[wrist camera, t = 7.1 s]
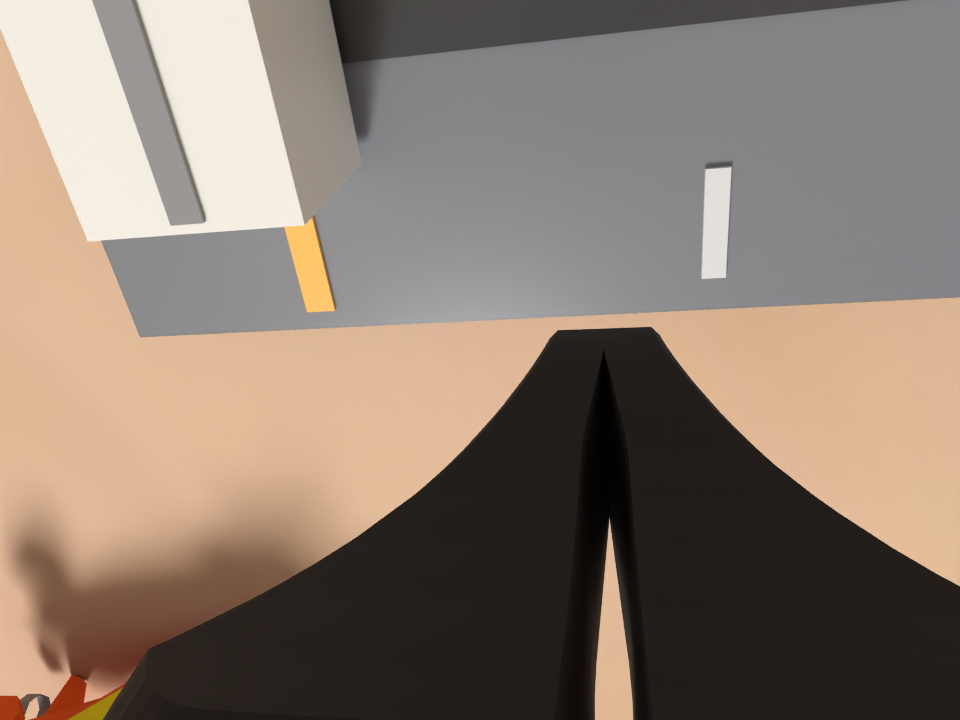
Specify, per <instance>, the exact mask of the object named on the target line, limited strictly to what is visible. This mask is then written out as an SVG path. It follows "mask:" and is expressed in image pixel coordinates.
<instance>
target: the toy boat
mask: <svg viewBox="0 0 960 720" xmlns="http://www.w3.org/2000/svg"><path fill="white" fill-rule="evenodd" d="M125 684H126V683H125ZM125 684H124V685H125ZM124 685H122V686H120V687H119V688H117V689H115V690H113V691H112V692H110V693H108V694H107V695H105V696H103V697H102V698H99V699H96V700H93V701H89V702H86V703H84V697H85V691H86V683H85V681H84V680H83V678H80V677H78V676H71V677H70V678H69V680H68V681H67V683H66V684H65V685H64V687H63V688H62V690H61V691H60V693H59V694H58V695H57V697H56V698H55V700H54V701H53V703H52V704H51V705H50V700H49V697H47V696H44V695H41V694H27V695H26V696H25V697H23V698H22V699H21V700H19V698H18V697H17V696H0V720H24V719H25V713H26V710H27V708H28V705H29V702H30V701H32V700H33V699H34V698H36V697H37V699H38V704H39V709H40V710H39V712H38V715H37V718H34V719H31V720H103V718H104V717H105V715H106V713H107V712H108V710H109V708H110V707H111V705H112V704H113V702H114V700H115V699H116V697H117V696H118V694H119V693H120V691H121V690H122V688H123V687H124Z"/></svg>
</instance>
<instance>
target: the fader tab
mask: <svg viewBox="0 0 960 720" xmlns="http://www.w3.org/2000/svg"><path fill="white" fill-rule="evenodd" d="M0 29H1V31H2V34H3V36H4V39H5V41H6V43H7V46H8V48H9V51H10V53H11V56H12V58H13V60H14V63H15V65H16V68H17V70H18V73H19V75H20V77H21V80H22V82H23V85H24V87H25V90H26V92H27V94H28V97H29V99H30V102H31V104H32V107H33V109H34V111H35V114H36V116H37V119H38V121H39V124H40V126H41V128H42V131H43V133H44V136H45V138H46V140H47V143H48V145H49V148H50V150H51V153H52V155H53V157H54V160H55V162H56V165H57V167H58V170H59V172H60V174H61V177H62V179H63V182H64V184H65V187H66V189H67V191H68V194H69V196H70V199H71V201H72V204H73V206H74V208H75V211H76V213H77V216H78V218H79V221H80V223H81V225H82V228H83V230H84V233H85V235H86V238H87V240H88V241H101V240H115V239H128V238H142V237H155V236H169V235H182V234H196V233H209V232H223V231H236V230H250V229H263V228H277V227H290V226H304V225H306V224H307V222H308V221H309V220H310V219H311V218H312V217H313V216H314V215H315V214H316V213H317V212H318V210H319V209H320V208H321V207H322V206H323V205H324V204H325V203H326V202H327V201H328V200H329V198H330V197H331V196H332V195H333V194H334V193H335V192H336V191H337V190H338V189H339V188H340V186H341V185H342V184H343V183H344V182H345V181H346V180H347V179H348V178H349V177H350V176H351V174H352V173H353V172H354V171H355V170H356V169H357V168H358V167H359V166H360V165H361V164H362V162H361V157H360V152H359V147H358V142H357V137H356V132H355V127H354V122H353V117H352V112H351V107H350V102H349V97H348V92H347V87H346V82H345V77H344V72H343V67H342V62H341V58H340V53H339V48H338V43H337V38H336V33H335V28H334V23H333V18H332V13H331V8H330V3H329V0H0Z"/></svg>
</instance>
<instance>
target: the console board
mask: <svg viewBox="0 0 960 720" xmlns="http://www.w3.org/2000/svg"><path fill="white" fill-rule="evenodd" d="M329 3H330V8H331V13H332V18H333V23H334V28H335V33H336V38H337V43H338V48H339V53H340V58H341V62H342V67H343V72H344V77H345V82H346V87H347V92H348V97H349V102H350V107H351V112H352V117H353V122H354V127H355V132H356V137H357V142H358V147H359V152H360V157H361V162H362V164H361V165H360V166H359V167H358V168H357V169H356V170H355V171H354V172H353V173H352V174H351V176H350V177H349V178H348V179H347V180H346V181H345V182H344V183H343V184H342V185H341V186H340V188H339V189H338V190H337V191H336V192H335V193H334V194H333V195H332V196H331V197H330V198H329V200H328V201H327V202H326V203H325V204H324V205H323V206H322V207H321V208H320V209H319V210H318V212H317V213H316V214H315V215H314V216H313V217H312V218H311V219H310V220H309V221H308V222H307V224H306V225H304V226H290V227H277V228H263V229H250V230H236V231H223V232H209V233H196V234H182V235H169V236H155V237H142V238H128V239H115V240H101V241H102V244H103V246H104V249H105V251H106V253H107V256H108V258H109V261H110V263H111V266H112V268H113V271H114V273H115V276H116V278H117V281H118V283H119V286H120V288H121V291H122V293H123V296H124V298H125V301H126V303H127V306H128V308H129V311H130V313H131V316H132V318H133V321H134V323H135V326H136V328H137V331H138V333H139V336H140V337H154V336H175V335H195V334H216V333H237V332H257V331H278V330H298V329H319V328H339V327H360V326H380V325H401V324H421V323H442V322H462V321H483V320H503V319H524V318H544V317H565V316H585V315H606V314H626V313H647V312H667V311H688V310H708V309H729V308H749V307H770V306H790V305H811V304H832V303H852V302H873V301H893V300H914V299H934V298H955V297H960V0H329Z"/></svg>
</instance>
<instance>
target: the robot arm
mask: <svg viewBox="0 0 960 720" xmlns="http://www.w3.org/2000/svg"><path fill="white" fill-rule="evenodd" d="M609 517H610V524H611V532H612V540H613V547H614V555H615V562H616V570H617V577H618V584H619V592H620V599H621V607H622V614H623V621H624V629H625V636H626V644H627V651H628V658H629V667H630V677H631V688H632V699H633V720H960V586H958V585H956V584H954V583H952V582H951V581H949V580H947V579H945V578H943V577H941V576H939V575H938V574H936V573H934V572H932V571H931V570H929V569H927V568H926V567H924V566H922V565H920V564H919V563H917V562H915V561H914V560H912V559H910V558H908V557H907V556H905V555H903V554H902V553H900V552H898V551H897V550H895V549H893V548H892V547H890V546H888V545H887V544H885V543H884V542H882V541H881V540H879V539H878V538H876V537H875V536H873V535H872V534H870V533H868V532H867V531H865V530H864V529H862V528H861V527H859V526H858V525H856V524H855V523H853V522H851V521H850V520H848V519H847V518H845V517H844V516H842V515H841V514H839V513H838V512H836V511H835V510H834V509H832V508H831V507H829V506H828V505H826V504H825V503H824V502H822V501H821V500H819V499H818V498H817V497H815V496H814V495H812V494H811V493H810V492H809V491H807V490H806V489H805V488H803V487H802V486H801V485H800V484H798V483H797V482H796V481H795V480H793V479H792V478H791V477H789V476H788V475H787V474H786V473H784V472H783V471H782V470H781V469H779V468H778V467H777V466H775V465H774V464H773V463H772V462H771V461H770V460H769V459H768V458H766V457H765V456H764V455H763V454H762V453H761V452H760V451H759V450H758V449H756V448H755V447H754V446H753V445H752V444H751V443H750V442H749V441H748V440H747V439H746V438H745V437H744V436H743V435H742V434H741V433H740V432H739V431H738V430H737V429H736V428H735V427H734V426H733V425H732V424H731V423H730V422H729V421H728V420H727V419H726V418H725V417H724V416H723V415H722V414H721V413H720V412H719V411H718V409H717V408H716V407H715V406H714V405H713V404H712V403H711V402H710V400H709V399H708V398H707V397H706V396H705V395H704V394H703V392H702V391H701V390H700V389H699V388H698V387H697V386H696V384H695V383H694V382H693V381H692V380H691V378H690V377H689V376H688V375H687V373H686V372H685V371H684V370H683V368H682V367H681V366H680V364H679V363H678V362H677V360H676V359H675V358H674V356H673V355H672V353H671V352H670V351H669V349H668V348H667V346H666V345H665V343H664V342H663V340H662V338H661V337H660V335H659V334H658V333H657V332H656V331H655V330H654V329H653V328H652V327H638V328H610V329H582V330H558V331H557V332H556V333H555V334H554V335H553V336H552V337H551V338H550V339H549V341H548V343H547V344H546V346H545V348H544V349H543V351H542V352H541V354H540V356H539V357H538V359H537V360H536V362H535V363H534V365H533V366H532V367H531V369H530V370H529V372H528V373H527V375H526V376H525V377H524V379H523V380H522V382H521V383H520V384H519V385H518V387H517V388H516V389H515V391H514V392H513V393H512V394H511V396H510V397H509V398H508V400H507V401H506V402H505V404H504V405H503V406H502V407H501V409H500V410H499V411H498V412H497V413H496V415H495V416H494V417H493V418H492V419H491V420H490V421H489V422H488V423H487V425H486V426H485V427H484V428H483V429H482V430H481V431H480V432H479V433H478V435H477V436H476V437H475V438H474V439H473V440H472V441H471V442H470V443H469V445H468V446H467V447H466V448H465V449H464V450H463V451H462V452H461V453H460V454H459V455H458V456H457V457H456V458H455V459H454V460H453V461H452V462H451V463H450V464H449V465H448V466H447V467H445V468H444V469H443V470H442V471H441V472H440V473H439V474H438V475H437V476H436V477H435V478H433V479H432V480H431V481H430V482H429V483H428V484H427V485H426V486H424V487H423V488H422V489H421V490H420V491H418V492H417V493H416V494H415V495H414V496H412V497H411V498H410V499H408V500H407V501H405V502H404V503H403V504H401V505H400V506H399V507H397V508H396V509H395V510H393V511H392V512H390V513H389V514H388V515H386V516H385V517H384V518H382V519H381V520H380V521H378V522H377V523H375V524H374V525H373V526H371V527H370V528H369V529H367V530H366V531H365V532H363V533H362V534H360V535H359V536H358V537H356V538H355V539H353V540H352V541H350V542H349V543H347V544H345V545H344V546H342V547H341V548H339V549H338V550H336V551H334V552H333V553H331V554H330V555H328V556H326V557H325V558H323V559H322V560H320V561H319V562H317V563H315V564H314V565H312V566H310V567H308V568H307V569H305V570H303V571H302V572H300V573H298V574H296V575H295V576H293V577H291V578H290V579H288V580H286V581H284V582H283V583H281V584H279V585H277V586H275V587H274V588H272V589H270V590H268V591H266V592H264V593H263V594H261V595H259V596H257V597H255V598H253V599H251V600H249V601H247V602H245V603H243V604H241V605H239V606H237V607H235V608H233V609H231V610H229V611H227V612H225V613H223V614H221V615H219V616H217V617H215V618H213V619H211V620H209V621H207V622H205V623H203V624H201V625H199V626H197V627H195V628H193V629H191V630H189V631H187V632H185V633H183V634H181V635H179V636H177V637H175V638H172V639H170V640H168V641H166V642H164V643H161V644H159V645H157V646H155V647H153V648H150V649H149V650H148V652H147V653H146V655H145V656H144V658H143V659H142V660H141V662H140V663H139V665H138V666H137V668H136V669H135V671H134V672H133V674H132V675H131V677H130V678H129V679H128V681H127V682H126V684H125V685H124V687H123V688H122V690H121V691H120V693H119V694H118V696H117V697H116V699H115V700H114V702H113V704H112V705H111V707H110V708H109V710H108V712H107V713H106V715H105V717H104V718H103V720H595V679H596V660H597V649H598V638H599V627H600V616H601V605H602V594H603V583H604V572H605V561H606V550H607V539H608V527H609Z"/></svg>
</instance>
